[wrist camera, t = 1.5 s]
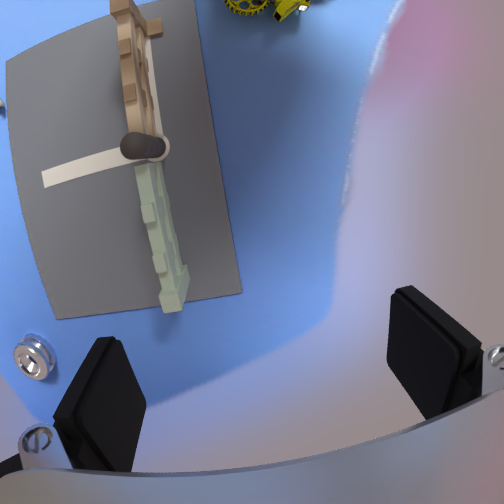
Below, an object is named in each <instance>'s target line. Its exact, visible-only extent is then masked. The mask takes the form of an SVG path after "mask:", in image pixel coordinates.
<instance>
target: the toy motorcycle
mask: <svg viewBox="0 0 504 504" xmlns="http://www.w3.org/2000/svg"><path fill="white" fill-rule="evenodd" d="M243 1H245V3H246V4H247V3H249V4H250V7H249V8H248V9H242V8H240V7H239V4H240V2H243ZM258 1H259V0H253V1H251V0H239V1H233V0H224V3H226V2H227V3H226V7H228V6H229V10H230V11H231V10H233V11H234V13H236V12H237V13H239V15H240V16H241V14H244V15H245V16H247V15H250V14H251V16H253V14H255V13H256V14H257V15H258V13H259V12H260V11H261V12H263V10H264V9H266V8H267V6H268V5H273V6H277V8H276V10H275V12H274V14H273V17H274V18H275V19H276V20H277V21H278V22H279V23H280V22H281V21H282V20H283V19H284V18H286V17H287V16H288V15H289V14H291V13H292V12H293V11H294V10H296V9H299V11H302V10H303V11H304V10H305V11H306V10H307V9H308V8H309V6H310V0H271V1H274V3H272V2H270V0H260V1H259V2H258ZM269 2H270V3H269ZM252 3H253V4H252ZM258 4H259V6H255V5H258Z"/></svg>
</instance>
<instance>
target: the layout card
mask: <svg viewBox="0 0 504 504" xmlns="http://www.w3.org/2000/svg"><path fill="white" fill-rule="evenodd" d="M137 8H138V9H139V11H140V12H141V14H142V16H143V17H144V19H145V20H146V21H148V20H152V19H156V18H160V17H161V19H162V26H163V34H159V35H155V36H151V37H146V38H144V42H145V51H146V58H147V59H148V67H149V71H148V77H149V84H150V92H151V96H152V97H153V104H154V110H153V113H154V119H155V126H156V132H157V137H160V138H162V139H163V140H164V141H165V143H166V151H165V153H164V154H163V155H162V156H161V157H159V158H151V159H138V160H129V159H127V158H125V157H124V156H123V155H122V153H121V151H120V143H121V140H122V138H123V137H124V136H125V135H126V134H128V133H129V129H128V122H127V116H126V108H125V101H124V93H123V85H122V76H121V67H120V57H119V45H118V36H117V21H116V20H115V18H114V17H113V16H112V15H111V14H110V15H107V16H104V17H101V18H98V19H96V20H93V21H90V22H87V23H85V24H82V25H80V26H77V27H75V28H72V29H70V30H68V31H65V32H63V33H61V34H58V35H56V36H54V37H52V38H50V39H48V40H45V41H43V42H41V43H39V44H37V45H35V46H33V47H31V48H29V49H28V50H26V51H24V52H22V53H20V54H18V55H16V56H15V57H13V58H11V59H9V60H8V61H6V102H7V117H8V129H9V138H10V146H11V154H12V161H13V167H14V173H15V179H16V185H17V190H18V195H19V200H20V204H21V209H22V213H23V217H24V222H25V226H26V230H27V233H28V237H29V241H30V244H31V248H32V251H33V255H34V258H35V261H36V264H37V268H38V271H39V274H40V277H41V280H42V283H43V286H44V288H45V291H46V294H47V297H48V299H49V302H50V305H51V307H52V310H53V312H54V315H55V317H56V319H65V318H73V317H82V316H90V315H98V314H105V313H113V312H120V311H128V310H135V309H142V308H149V307H156V306H161V303H160V300H159V294H160V291H161V289H162V287H161V283H160V279H159V276H158V273H156V270H155V266H154V262H153V258H152V256H153V252H152V248H151V244H150V240H149V236H148V231H147V227H146V223H144V221H143V216H142V212H141V207H140V206H141V205H142V204H141V200H140V195H139V190H138V185H137V180H136V175H135V169H134V167H135V166H139V165H143V164H147V163H156V162H161V164H162V170H163V175H164V180H165V186H166V191H167V192H168V196H169V201H170V211H171V216H172V220H173V225H174V230H175V233H176V234H177V239H178V244H179V252H180V257H181V261H182V265H186V264H187V268H188V272H189V276H190V282H189V286H188V290H187V293H186V297H185V301H184V302H189V301H195V300H202V299H208V298H214V297H220V296H226V295H232V294H238V293H242V288H241V282H240V277H239V271H238V266H237V260H236V254H235V249H234V243H233V238H232V232H231V226H230V221H229V215H228V209H227V203H226V198H225V192H224V186H223V180H222V174H221V168H220V162H219V156H218V150H217V144H216V138H215V132H214V126H213V120H212V114H211V108H210V101H209V95H208V89H207V82H206V76H205V70H204V63H203V57H202V50H201V43H200V37H199V30H198V23H197V16H196V9H195V2H194V0H159V1H155V2H151V3H147V4H143V5H139V6H137Z"/></svg>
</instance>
